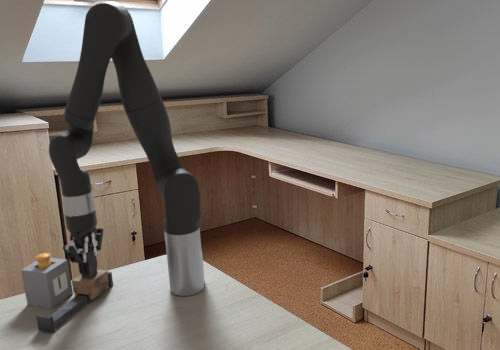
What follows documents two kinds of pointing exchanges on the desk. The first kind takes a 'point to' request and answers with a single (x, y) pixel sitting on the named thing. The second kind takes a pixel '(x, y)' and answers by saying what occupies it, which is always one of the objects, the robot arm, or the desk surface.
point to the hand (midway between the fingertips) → (89, 271)
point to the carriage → (91, 279)
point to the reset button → (43, 260)
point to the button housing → (47, 283)
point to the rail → (65, 311)
